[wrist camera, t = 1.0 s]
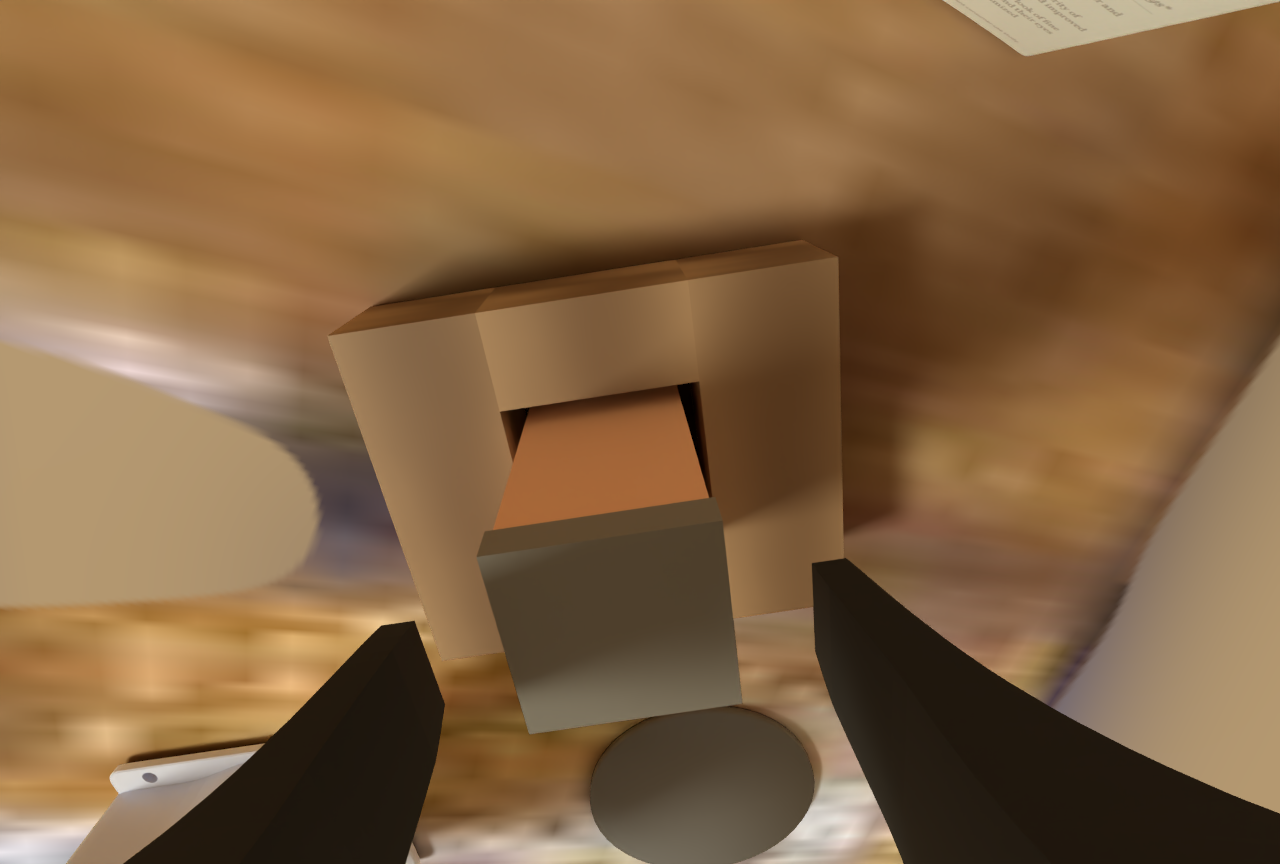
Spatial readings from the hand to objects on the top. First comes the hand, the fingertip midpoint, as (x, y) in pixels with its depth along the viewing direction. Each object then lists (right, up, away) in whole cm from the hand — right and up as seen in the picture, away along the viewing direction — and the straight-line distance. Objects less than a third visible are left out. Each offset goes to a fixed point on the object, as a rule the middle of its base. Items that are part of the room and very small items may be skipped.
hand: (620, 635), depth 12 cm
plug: (0, +4, +8) cm, 9 cm away
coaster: (+3, -11, +15) cm, 18 cm away
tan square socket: (0, +4, +8) cm, 9 cm away
